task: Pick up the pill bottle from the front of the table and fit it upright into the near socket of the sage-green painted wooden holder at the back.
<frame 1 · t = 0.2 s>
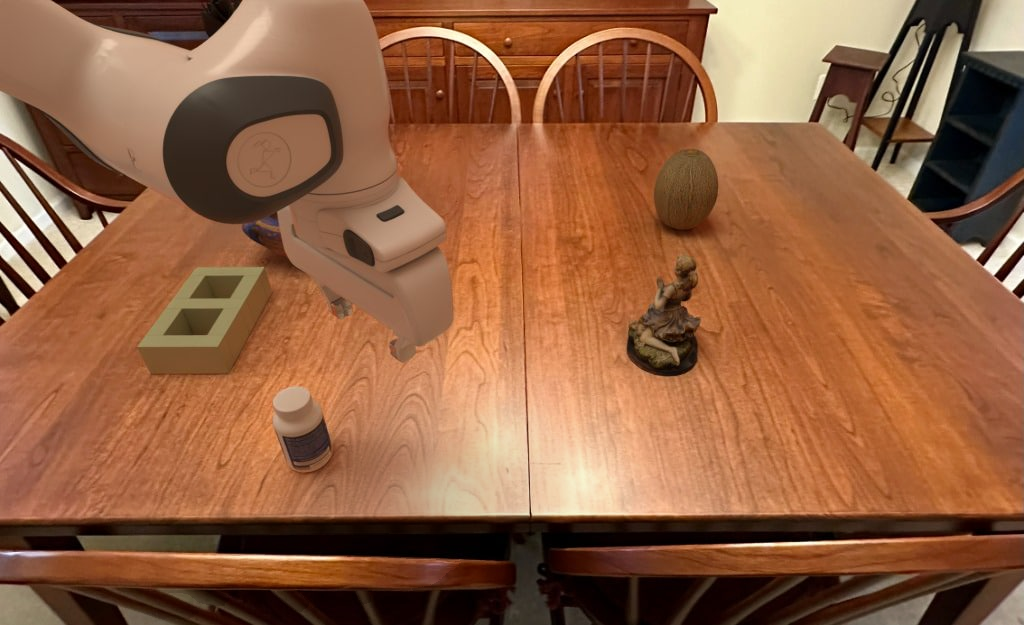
hand: (371, 334, 57), 21 cm above the table, tool pointing down, fingers open, 8 cm apart
fruit: (678, 226, 115), on the table
figurine: (661, 348, 87), on the table
pen: (307, 170, 135), on the table
socket: (216, 329, 91), on the table
pill bottle: (310, 456, 72), on the table
bowl: (314, 249, 109), on the table
vase: (259, 148, 146), on the table
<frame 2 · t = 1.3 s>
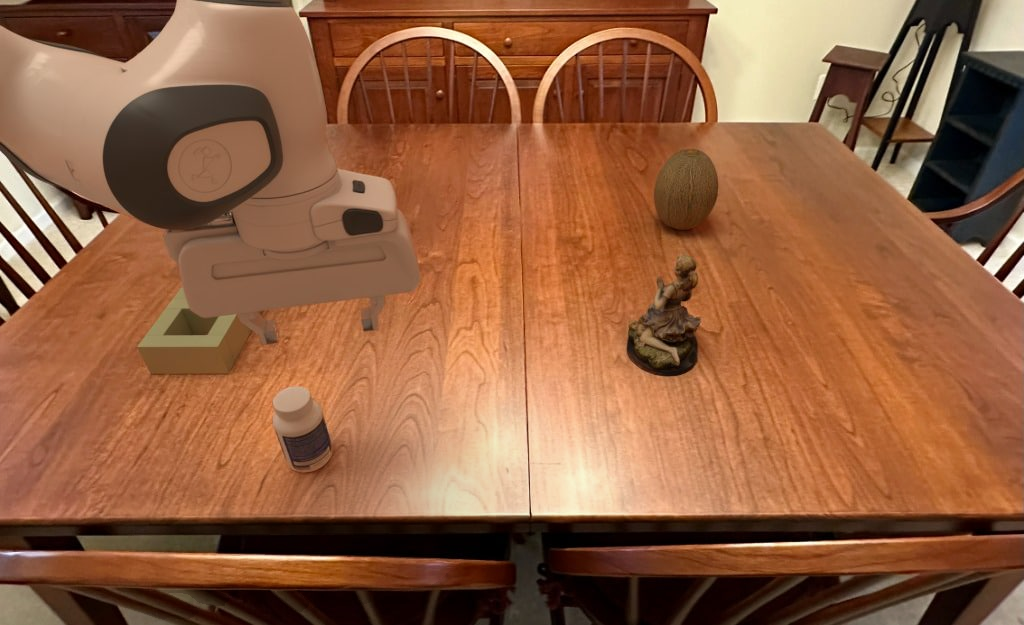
hand: (322, 334, 59), 20 cm above the table, tool pointing down, fingers open, 8 cm apart
nothing on the table moved.
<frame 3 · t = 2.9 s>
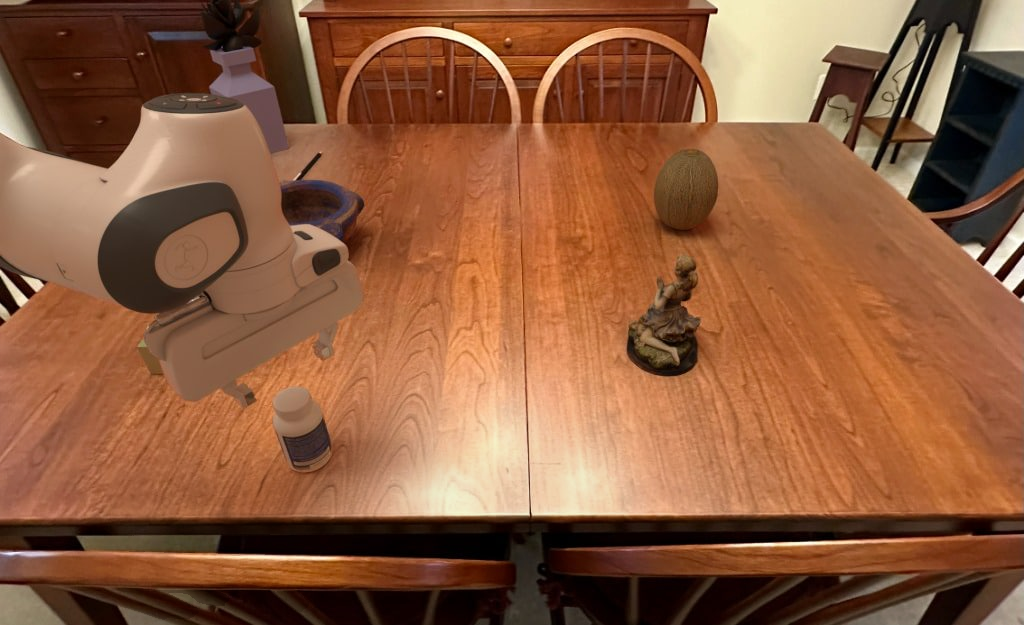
hand: (287, 378, 64), 13 cm above the table, tool pointing down, fingers open, 8 cm apart
nothing on the table moved.
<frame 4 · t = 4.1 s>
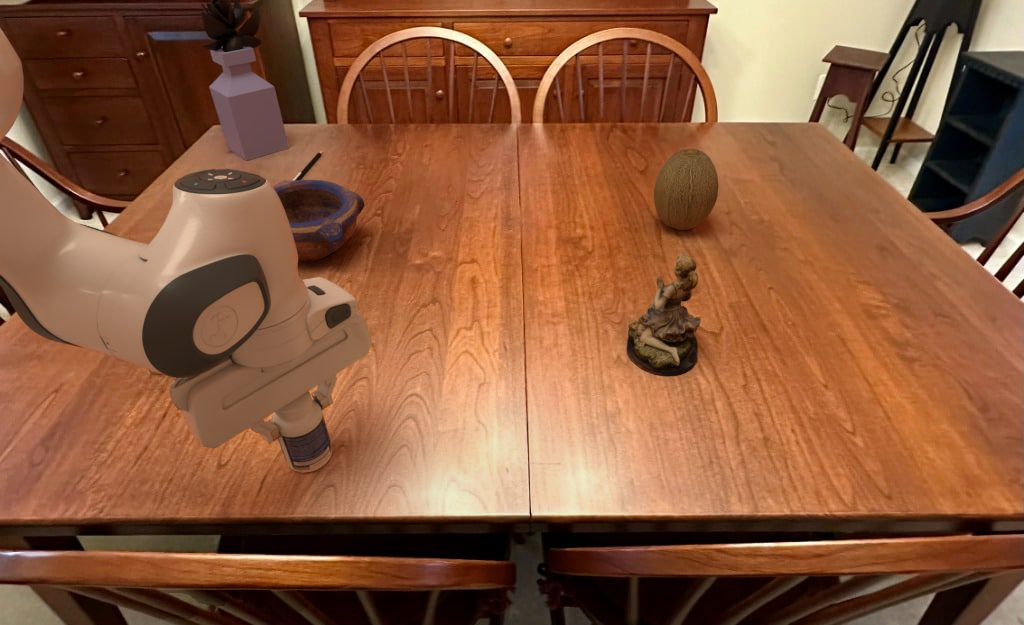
hand: (299, 420, 68), 6 cm above the table, tool pointing down, fingers closed on pill bottle, 5 cm apart
pill bottle: (310, 456, 72), on the table, touching gripper
everything else where it was.
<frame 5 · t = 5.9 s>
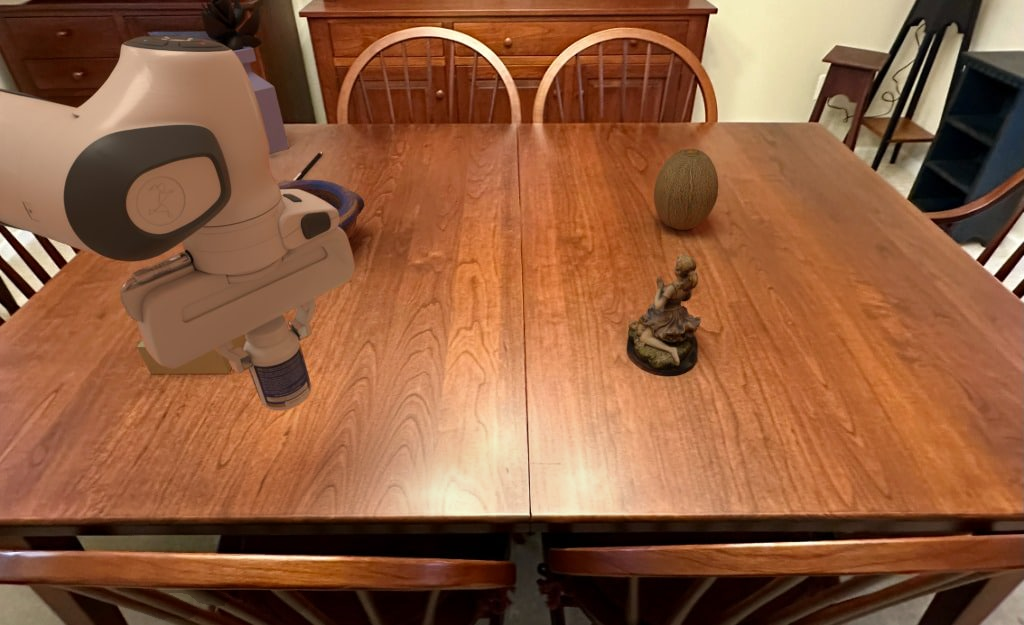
hand: (273, 351, 62), 17 cm above the table, tool pointing down, fingers closed on pill bottle, 5 cm apart
pill bottle: (287, 395, 65), point 10 cm above the table, touching gripper
everything else where it was.
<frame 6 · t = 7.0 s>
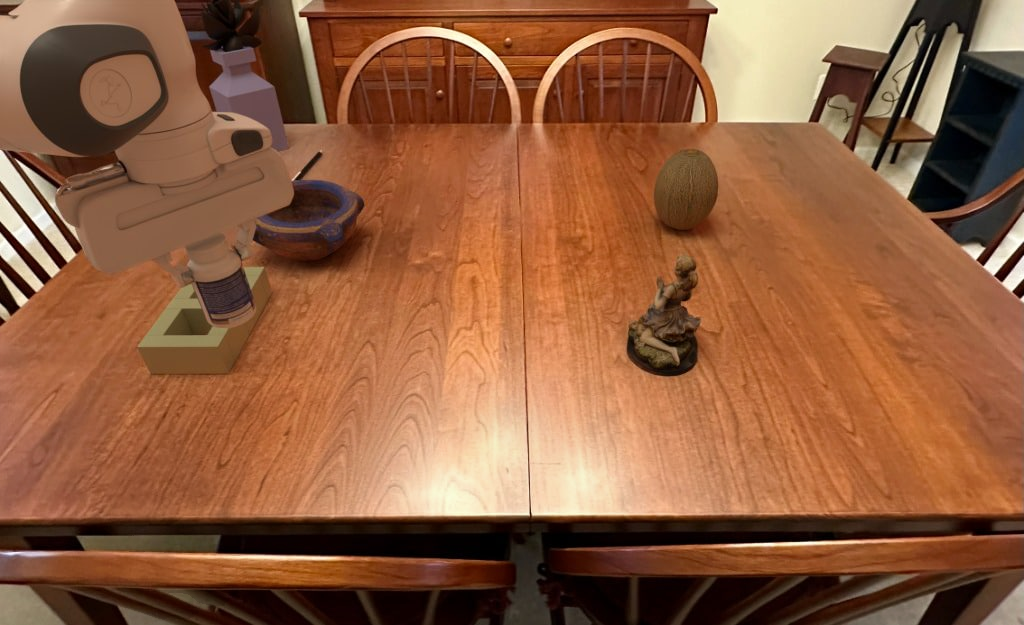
hand: (216, 269, 65), 21 cm above the table, tool pointing down, fingers closed on pill bottle, 5 cm apart
pill bottle: (233, 316, 69), point 15 cm above the table, touching gripper
everything else where it was.
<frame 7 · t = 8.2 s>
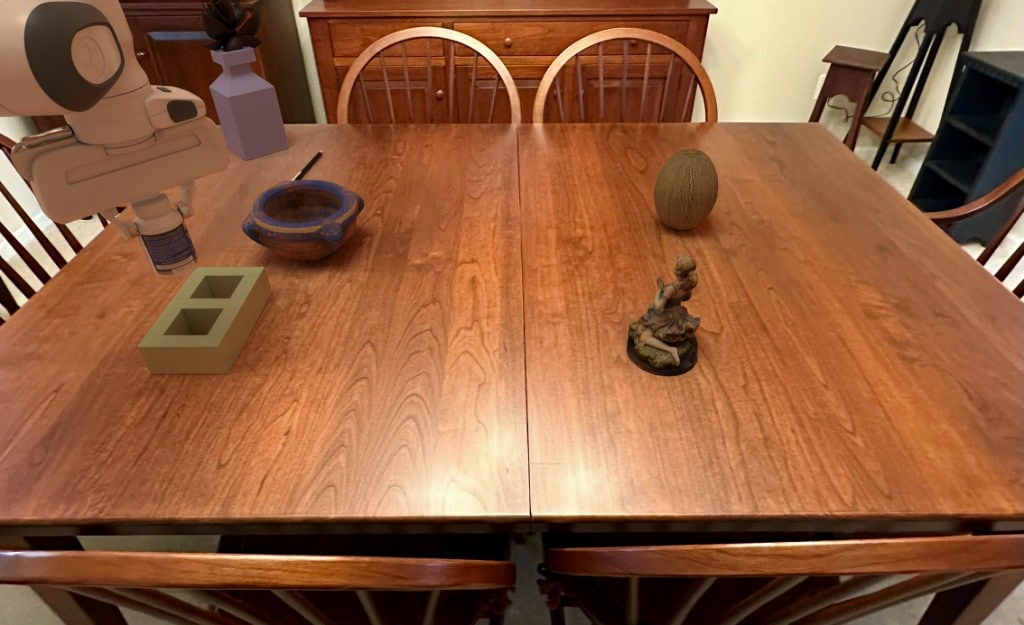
hand: (160, 226, 74), 21 cm above the table, tool pointing down, fingers closed on pill bottle, 5 cm apart
pill bottle: (178, 269, 78), point 15 cm above the table, touching gripper
everything else where it was.
when the fingers open (6 cm above the table, at t = 11.4 s): pill bottle stays where it is, resting in socket.
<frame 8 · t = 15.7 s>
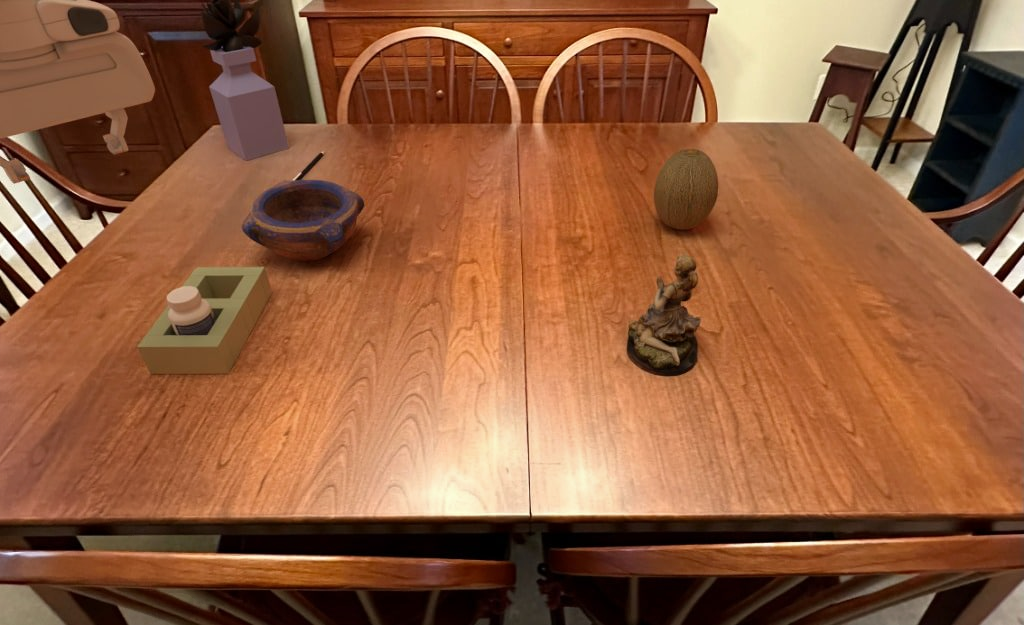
hand: (72, 165, 63), 31 cm above the table, tool pointing down, fingers open, 8 cm apart
pill bottle: (205, 349, 87), resting in socket
everything else where it was.
at the end: pill bottle 0.1 cm from the target spot in the socket, point 0.0 cm above the socket's base; pill bottle tilted 0°; the gripper is holding nothing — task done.
